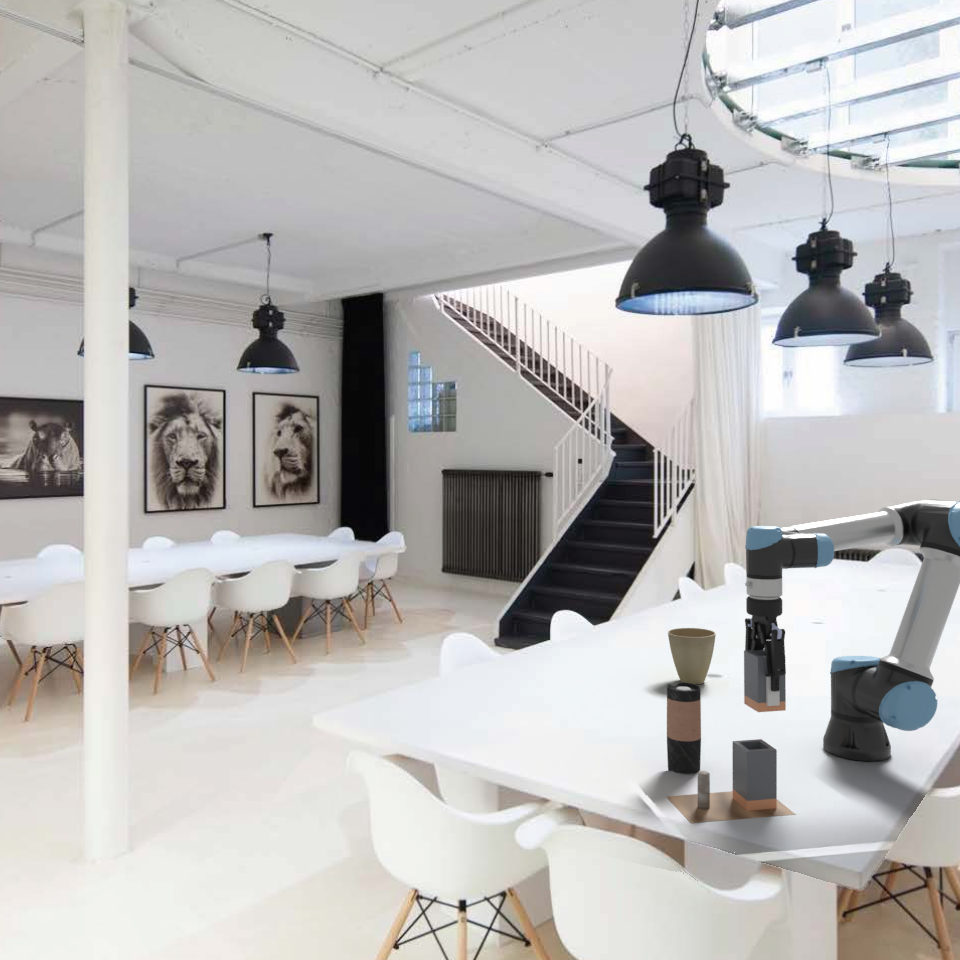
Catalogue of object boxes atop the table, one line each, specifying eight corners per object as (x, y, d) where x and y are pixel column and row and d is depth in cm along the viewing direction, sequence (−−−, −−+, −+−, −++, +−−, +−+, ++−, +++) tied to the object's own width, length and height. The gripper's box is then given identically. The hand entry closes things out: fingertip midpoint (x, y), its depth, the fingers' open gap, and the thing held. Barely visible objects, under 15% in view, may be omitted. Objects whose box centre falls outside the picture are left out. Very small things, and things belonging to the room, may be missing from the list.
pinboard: (763, 794, 181) (763, 756, 180) (795, 820, 168) (795, 779, 168) (666, 802, 177) (665, 763, 177) (691, 829, 164) (690, 787, 164)
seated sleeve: (761, 795, 177) (761, 739, 177) (776, 808, 171) (776, 749, 170) (732, 798, 176) (732, 741, 176) (747, 810, 170) (746, 751, 169)
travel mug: (698, 781, 188) (698, 692, 188) (664, 777, 191) (663, 689, 190) (703, 769, 195) (702, 683, 195) (669, 765, 198) (669, 680, 198)
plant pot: (711, 675, 277) (711, 627, 277) (719, 688, 262) (719, 637, 262) (665, 675, 279) (665, 627, 278) (671, 687, 264) (670, 636, 263)
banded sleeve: (771, 701, 190) (770, 649, 189) (785, 710, 183) (785, 655, 183) (744, 703, 189) (743, 650, 188) (758, 712, 182) (757, 657, 182)
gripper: (728, 590, 194) (729, 689, 195) (770, 605, 175) (770, 714, 176) (758, 588, 196) (759, 687, 196) (803, 603, 176) (804, 712, 177)
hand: (764, 700), depth 186 cm, fingers closed on banded sleeve, 6 cm apart
